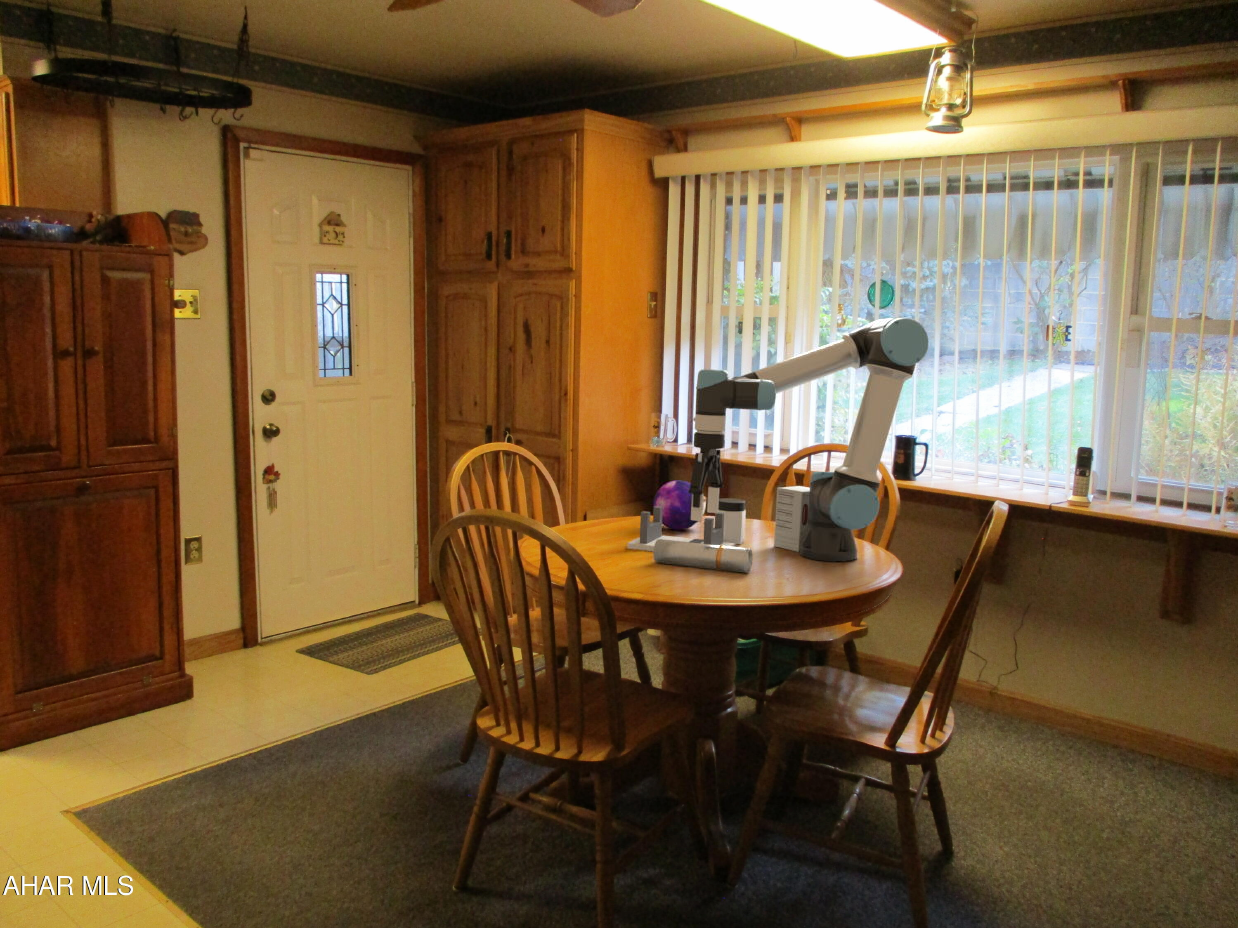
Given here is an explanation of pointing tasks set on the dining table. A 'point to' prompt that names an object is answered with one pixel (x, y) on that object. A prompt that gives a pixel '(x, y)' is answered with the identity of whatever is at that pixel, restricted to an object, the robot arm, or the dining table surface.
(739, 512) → the jar
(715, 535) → the cradle stand
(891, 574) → the dining table surface
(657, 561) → the steel tube
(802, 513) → the supplement box
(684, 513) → the decorative orb
